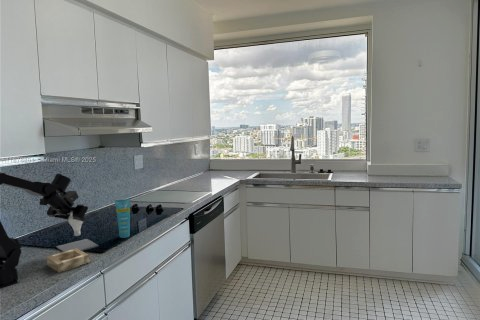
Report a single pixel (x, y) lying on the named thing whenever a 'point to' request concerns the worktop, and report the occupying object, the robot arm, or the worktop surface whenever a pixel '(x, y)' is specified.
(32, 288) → the worktop surface
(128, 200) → the tube
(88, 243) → the mat
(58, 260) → the holder block
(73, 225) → the lightbulb
